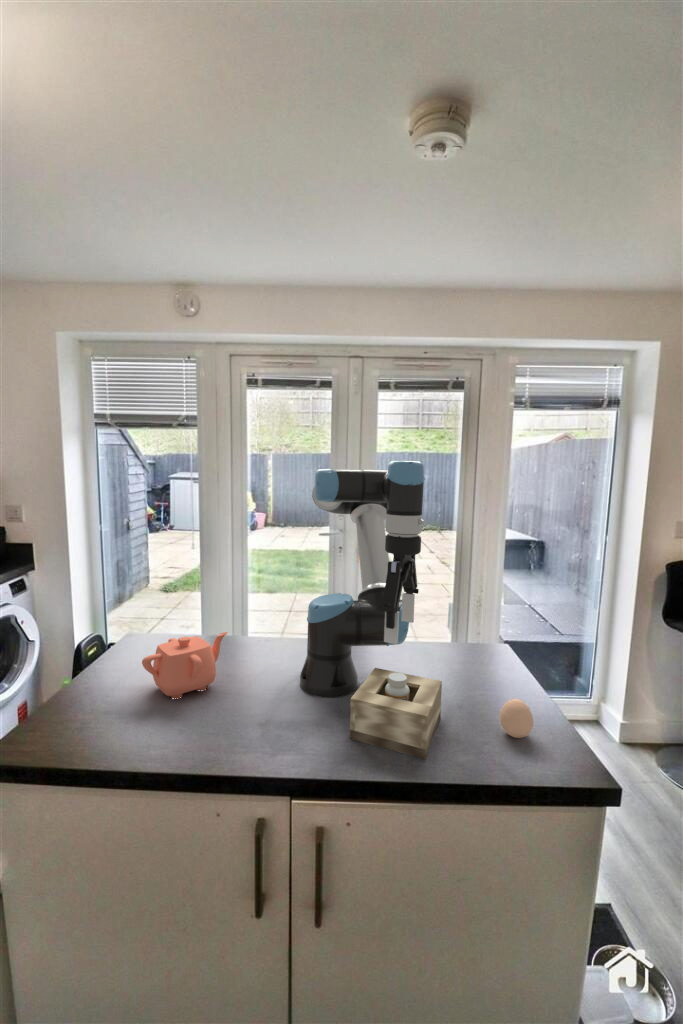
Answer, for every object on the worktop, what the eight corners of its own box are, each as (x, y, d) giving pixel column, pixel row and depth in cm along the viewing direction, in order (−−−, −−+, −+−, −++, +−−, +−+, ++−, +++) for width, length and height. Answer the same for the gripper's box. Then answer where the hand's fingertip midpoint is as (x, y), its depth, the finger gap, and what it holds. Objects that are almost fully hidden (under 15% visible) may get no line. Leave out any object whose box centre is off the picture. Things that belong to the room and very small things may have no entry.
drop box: (349, 738, 90) (350, 698, 90) (374, 702, 105) (375, 667, 104) (425, 759, 84) (427, 716, 83) (440, 718, 99) (441, 681, 98)
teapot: (139, 702, 103) (138, 649, 102) (167, 672, 118) (167, 626, 117) (209, 705, 102) (209, 651, 101) (228, 674, 118) (228, 628, 117)
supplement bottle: (400, 729, 91) (401, 685, 90) (379, 719, 94) (380, 677, 93) (413, 718, 95) (414, 676, 94) (392, 709, 98) (393, 668, 97)
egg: (515, 748, 88) (517, 711, 88) (492, 730, 94) (494, 695, 94) (539, 740, 91) (541, 704, 90) (515, 724, 97) (517, 690, 96)
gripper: (406, 544, 78) (401, 656, 80) (432, 528, 101) (428, 616, 103) (367, 540, 81) (363, 649, 83) (401, 526, 104) (398, 611, 106)
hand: (399, 631), depth 93 cm, fingers open, 13 cm apart
